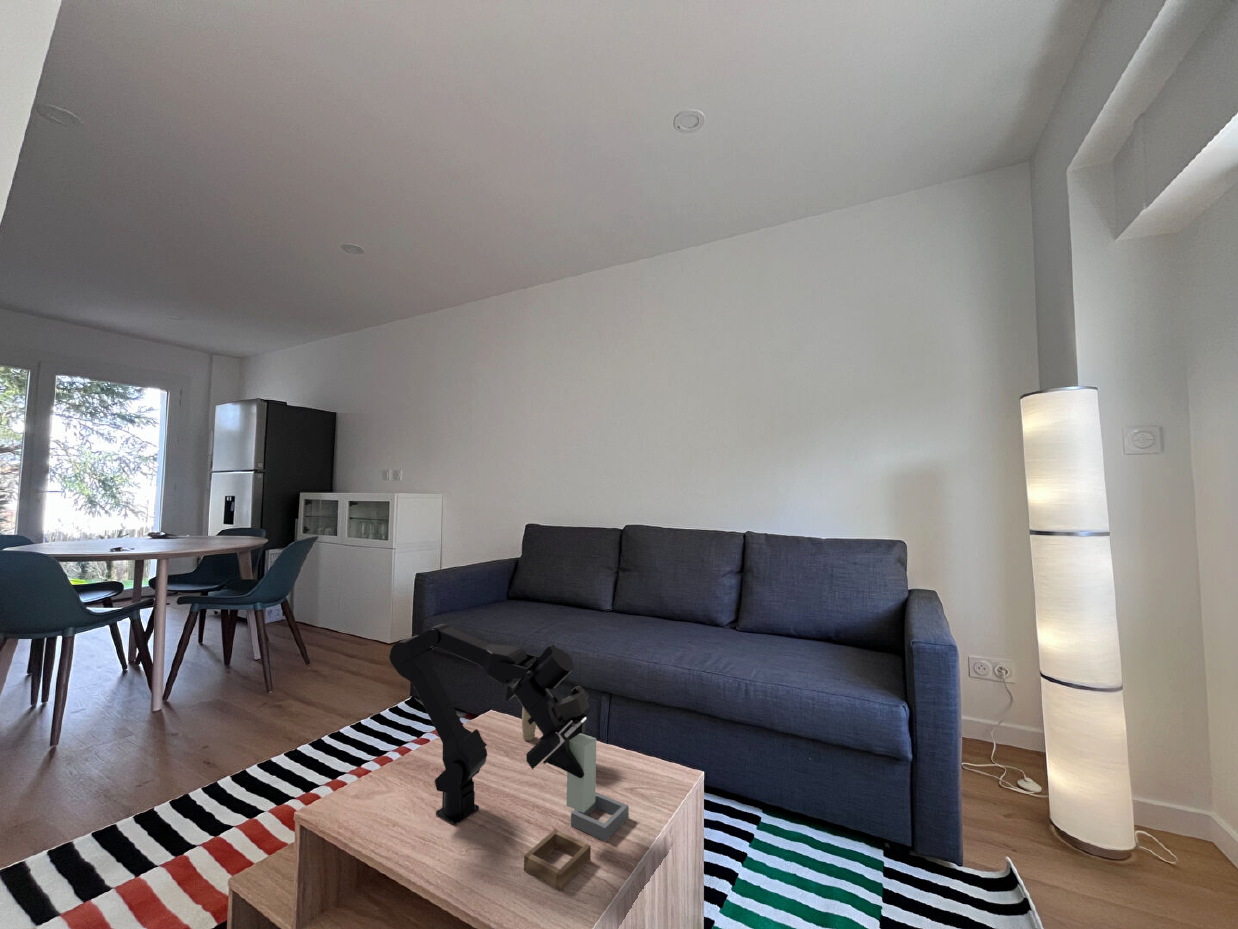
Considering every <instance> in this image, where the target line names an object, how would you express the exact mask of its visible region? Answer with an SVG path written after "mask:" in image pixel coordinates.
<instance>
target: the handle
mask: <svg viewBox="0 0 1238 929" xmlns="http://www.w3.org/2000/svg"><path fill="white" fill-rule="evenodd" d="M521 712H522V713H521V729H522V738H523V740H524V741H526V742H527V741H529V742H531V741H533V740H535V737H536V736H535V735H536V733H535V732H536V729H537V728H536V727H537V726H536V724H535V723H534V722H533V723H532V724H531V725H530V724H529V723H528V720H529V719H530V718H531V717H530V716H529V714H528V713H527V712H526V710H525V709H524V707H523V706H522V711H521Z"/></svg>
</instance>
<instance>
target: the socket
mask: <svg viewBox="0 0 1238 929" xmlns="http://www.w3.org/2000/svg"><path fill="white" fill-rule="evenodd" d="M629 807H630V805H628V804H625V803H624V802H621V801H618V800H616V799H614V798H611V797H609V796H606V795H604V794H601V793H599V792H596V791H595V803H594V804H593V805H592V806H590V807H589V808H588V809H587V810H586V811H585V812H584V813H582V812H580V811H578V810H575V809H573V811H571V812H570V826H571V827H573V828H575V829H577V830H579V831H582V832H584V833H585V834H588V835H590V836H592V837H594V838H596V839H598V840H601V841H603V842H607V841H608V838H609V837H610V838H611V836H612V835H614V833H616V831H617V830H619V828H620V827H621V826H622V825H623V824H624V823H626V821H627V820H628V819H629V815H630V813H629V812H630V811H629V810H630V809H629ZM595 810H600V811H602V812H604V813H607V814H610V815H611V816H610V817H609V818H608V819H607V820H605V822H603V821H599V820H597V819H596V818H592V817H590V815H591V814H592V813H593V812H594V811H595ZM606 840H607V841H606Z"/></svg>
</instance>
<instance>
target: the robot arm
mask: <svg viewBox="0 0 1238 929" xmlns="http://www.w3.org/2000/svg"><path fill="white" fill-rule="evenodd" d="M436 648H438V649H441V650H443V651H444V652H448V653H450V654H453V655H455V656H458V657H459V658H462V659H464V660H467V661H468V662H471V663H473V664H475V665H478V666H479V667H481V668H482V669H483V671H484V672H485V674H486V675H487V676H488V677H490V678H491V679H493V680H494V681H496V682H498V683H499V684H503V685H507V686H506V693H505V699H504V700H505V701H506V702H508V701H509V700H512V698H514V697H515V698H516V699H517V701H518V702H519V703H520V705H521V706H522V708H523V707H524V709H525V710H526V712H527V713H528V714H529V716H530V717H531V718H530V719H529V720H528V723H529V724H530V725H531V724H532V723H533V722H534V723H535V724H536V727H537V729H538V730H539V731H540V732H541V734H542V736H540V738H539V739H540V740H539V741H538V742H537V743H536V744H535V745H534V746H533V747H532V748H531V749H530V750H528V752H526V755H525V756H526V757H525V759H526V761H525V762H526V763H527V764H528V766H529V767H530V768H531V770H534V769H535V768H536V767H537V766H538V765H539V764H541V762H542V763H543V764H544V765H546V764H549V765H552V766H554V767H556V768H558V769H561V770H563V771H564V772H566V773H567V772H569V773H571V774H572V775H574V776H576V777H578V778H582V777H583V776H584V775H585V774H584V772H583V770H582V768H581V766H580V765H579V763H578V761H577V760H576V758H575V757H574V755H573V753H572V752H571V750H570V746H569V740H570V739H572V738H574V737H575V736H577V735H578V734H580V733H581V734H584V735H586V726H587V724H586V723H587V722H588V719H586V720H585V721H584V722H583V723H582V722H581V720H582V719H584V718H585V717H586V718H587V716H588V715H590V713H591V712H592V709H591V707H590V705H589V702H588V698H589V697H590V696H589V695H590V694H589V693H588V692H586V690H585V689H584V688H583V687H582V685H577V686H575V687H573V689H571V690H570V695H568V696H567V697H565V698H562V697H561V695H560V694H559V695H558V694H555V695H552V693H550V690H553V689H555V688H556V687H557V686H559V685H560V683H562V682H563V680H564V679H565V678H566V677H567V676H569V675H570V674H571V673H572V672H573V671H574V669H575V663H574V662H573V659H572V658H571V656H570V655H569V653H568V652H566V651H564V650H562V649H561V648H558V647H556V646H555V645H554V644H550V645H548V646H547V647H546V648H545V649H544V651H543V653H541V655H534V654H531V653H527V651H525V650H524V649H523V648H521V647H517V646H512V645H507V644H494V643H490V642H487V641H485V640H482V639H480V638H477V637H474V636H472V635H470V634H468V633H465V632H463V631H461V630H458V629H456V628H453V627H451V625H449V624H447V623H440V624H437V625H434V626H433V627H430V628H429V629H427V630H426V631H425V632H423V633H421V634H418V635H417V634H416V635H414V636H412V637H409V638H406V639H402V640H400V641H399V642H396V643H394V644H393V646H391V649H390V653H389V655H388V658H389V661H390V663H391V665H392V667H393V668H394V670H396V672H397V673H398V675H399V676H401V677H403V679H406V680H407V681H409V682H410V683H411V684H412V686H413V688H414V690H415V691H416V693H417V696H418V698H419V700H420V701H421V703H422V705H423V707H424V709H425V711H426V714H428V717H429V719H430V721H431V723H432V725H433V727H434V729H435V730H436V733H437V735H438V737H439V739H440V740H441V743H442V762H443V767H444V770H443V771H442V772H441V773H440V774H439V775H438V776H437V777H436V778H435V779H434V784H435V789H436V791H437V792H442V801H441V803H442V804H441V806H442V807H441V808H439V809H438V810H436V811H435V815H436V816H438V817H439V818H441V819H443V820H445V821H446V822H448V823H450V824H452V825H453V826H455V825H458V824H459V823H461V822H462V821H464V820H465V819H467V818H468V817H470V816H471V815H473V814H474V813H476V812H477V811H479V810H480V806H479V804H476V803H475V802H476V801H475V798H476V797H475V796H476V792H475V782H474V781H473V778H474V777H475V776H476V775H477V774H479V773H480V770H481V769H482V767H483V766H485V764H486V762H487V759H488V757H487V756H488V751H487V748H486V747H487V745H488V744H487V743H486V742H485V741H484V740H483V738H482V736H481V732H480V731H479V730H478V729H474V730H473V731H471V730H469V729H468V728H466V727H465V726H464V725H463V722H462V721H461V719H460V717H459V715H458V713H457V712H456V709H455V707H454V706H453V703H452V702H451V700H450V698H449V696H448V693H446V690H445V688H444V686H443V685H442V683H441V681H440V679H439V677H438V675H437V673H436V671H435V670H434V661H435V660H434V659H435V658H434V652H433V651H434V649H436ZM530 672H531V674H530V675H527V674H529V673H530ZM516 679H519V680H517V681H516V683H514V682H513V681H515V680H516ZM563 735H565V737H566V739H565V740H564V739H563V738H562V736H563Z"/></svg>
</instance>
